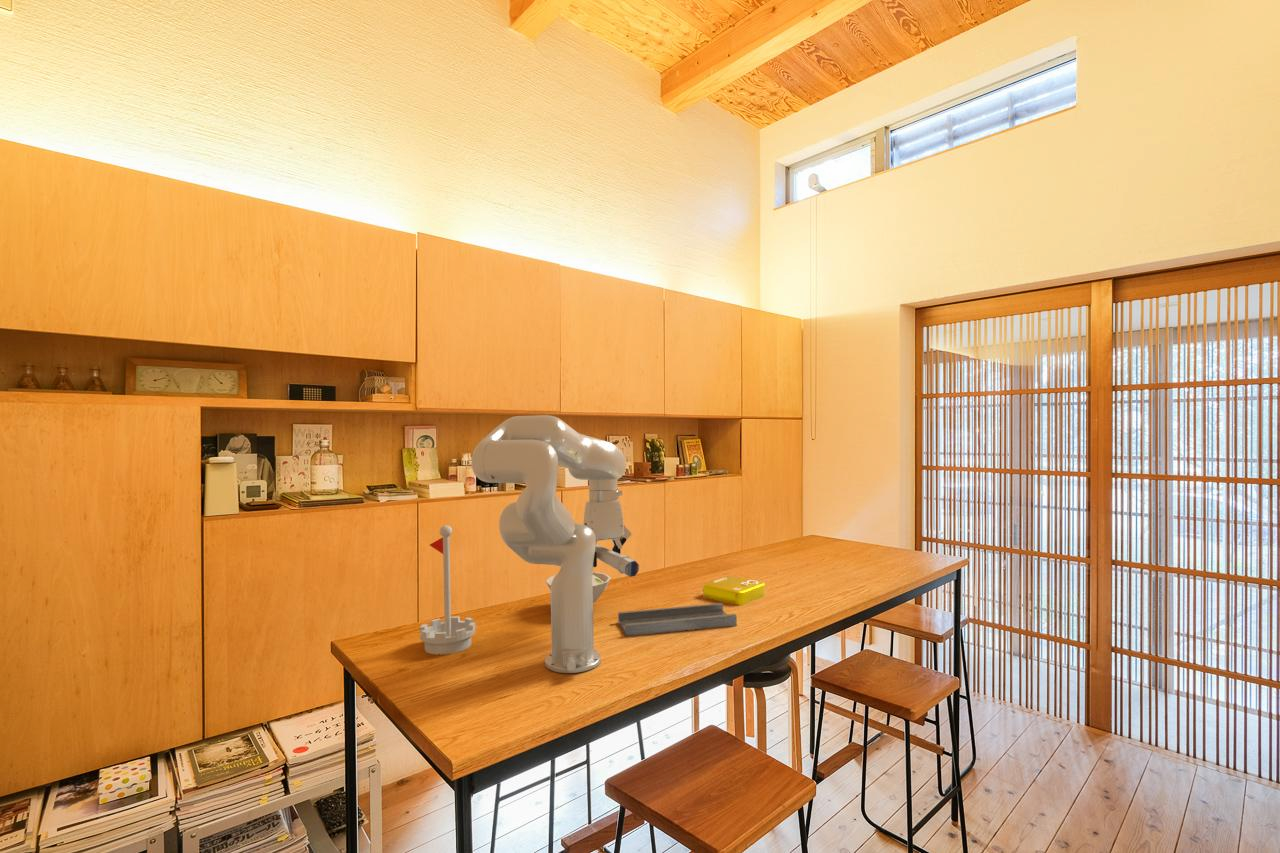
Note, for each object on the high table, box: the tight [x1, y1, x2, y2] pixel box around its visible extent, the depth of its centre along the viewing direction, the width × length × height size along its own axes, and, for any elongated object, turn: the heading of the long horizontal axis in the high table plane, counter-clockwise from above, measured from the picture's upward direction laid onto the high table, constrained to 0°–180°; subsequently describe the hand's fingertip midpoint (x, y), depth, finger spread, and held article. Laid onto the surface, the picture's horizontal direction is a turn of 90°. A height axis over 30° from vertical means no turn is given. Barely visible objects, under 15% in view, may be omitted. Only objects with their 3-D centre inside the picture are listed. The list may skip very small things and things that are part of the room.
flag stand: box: [419, 524, 476, 656], centre depth 145 cm, size 13×13×30 cm
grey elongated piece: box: [595, 544, 640, 578], centre depth 154 cm, size 5×7×25 cm
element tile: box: [702, 575, 766, 606], centre depth 184 cm, size 15×15×5 cm
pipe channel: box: [617, 602, 738, 638], centre depth 158 cm, size 11×30×3 cm, turn 103°
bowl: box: [545, 571, 611, 604], centre depth 173 cm, size 19×19×10 cm
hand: (604, 564), depth 154 cm, fingers closed on grey elongated piece, 5 cm apart
